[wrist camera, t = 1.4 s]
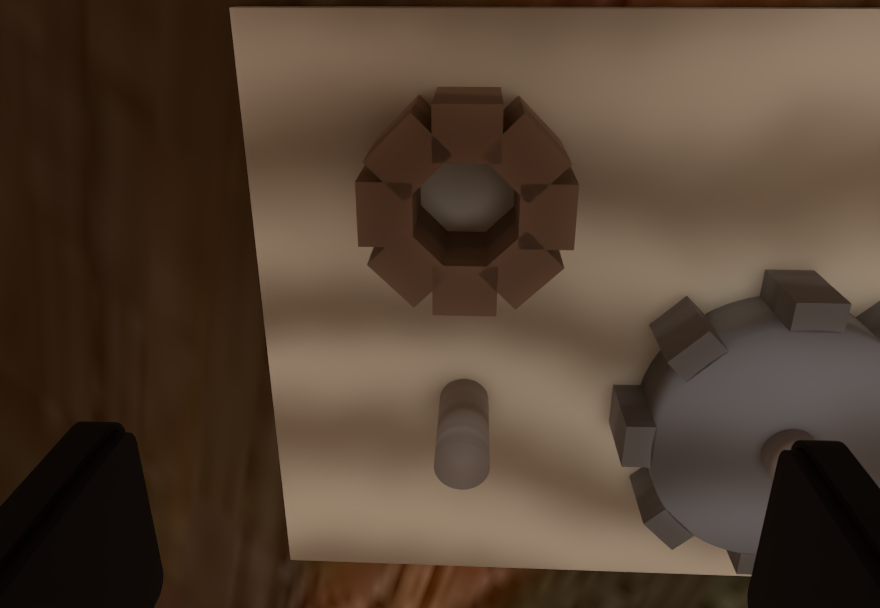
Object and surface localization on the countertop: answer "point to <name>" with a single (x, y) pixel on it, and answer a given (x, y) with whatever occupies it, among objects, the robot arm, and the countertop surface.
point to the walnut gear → (455, 252)
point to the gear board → (571, 281)
